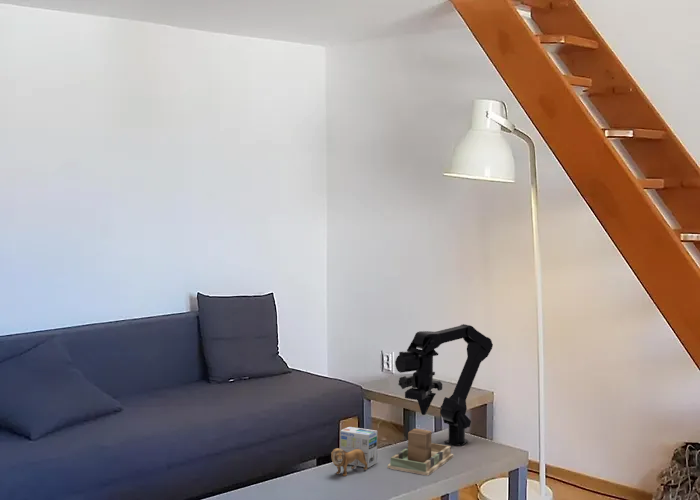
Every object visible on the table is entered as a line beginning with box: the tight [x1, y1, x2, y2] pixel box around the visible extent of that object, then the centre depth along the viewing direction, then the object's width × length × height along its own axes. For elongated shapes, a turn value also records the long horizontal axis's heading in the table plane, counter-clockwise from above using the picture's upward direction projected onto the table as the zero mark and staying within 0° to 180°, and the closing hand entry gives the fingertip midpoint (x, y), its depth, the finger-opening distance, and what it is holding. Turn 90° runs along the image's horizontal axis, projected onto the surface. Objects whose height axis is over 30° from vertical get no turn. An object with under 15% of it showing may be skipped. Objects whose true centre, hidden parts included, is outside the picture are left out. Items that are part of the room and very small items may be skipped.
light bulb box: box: [339, 426, 378, 469], centre depth 269 cm, size 11×7×11 cm, turn 63°
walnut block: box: [407, 428, 433, 463], centre depth 269 cm, size 5×6×9 cm
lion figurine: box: [331, 447, 368, 477], centre depth 260 cm, size 15×5×9 cm, turn 135°
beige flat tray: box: [387, 442, 454, 477], centre depth 271 cm, size 21×14×4 cm, turn 151°
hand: (423, 414), depth 284 cm, fingers closed
